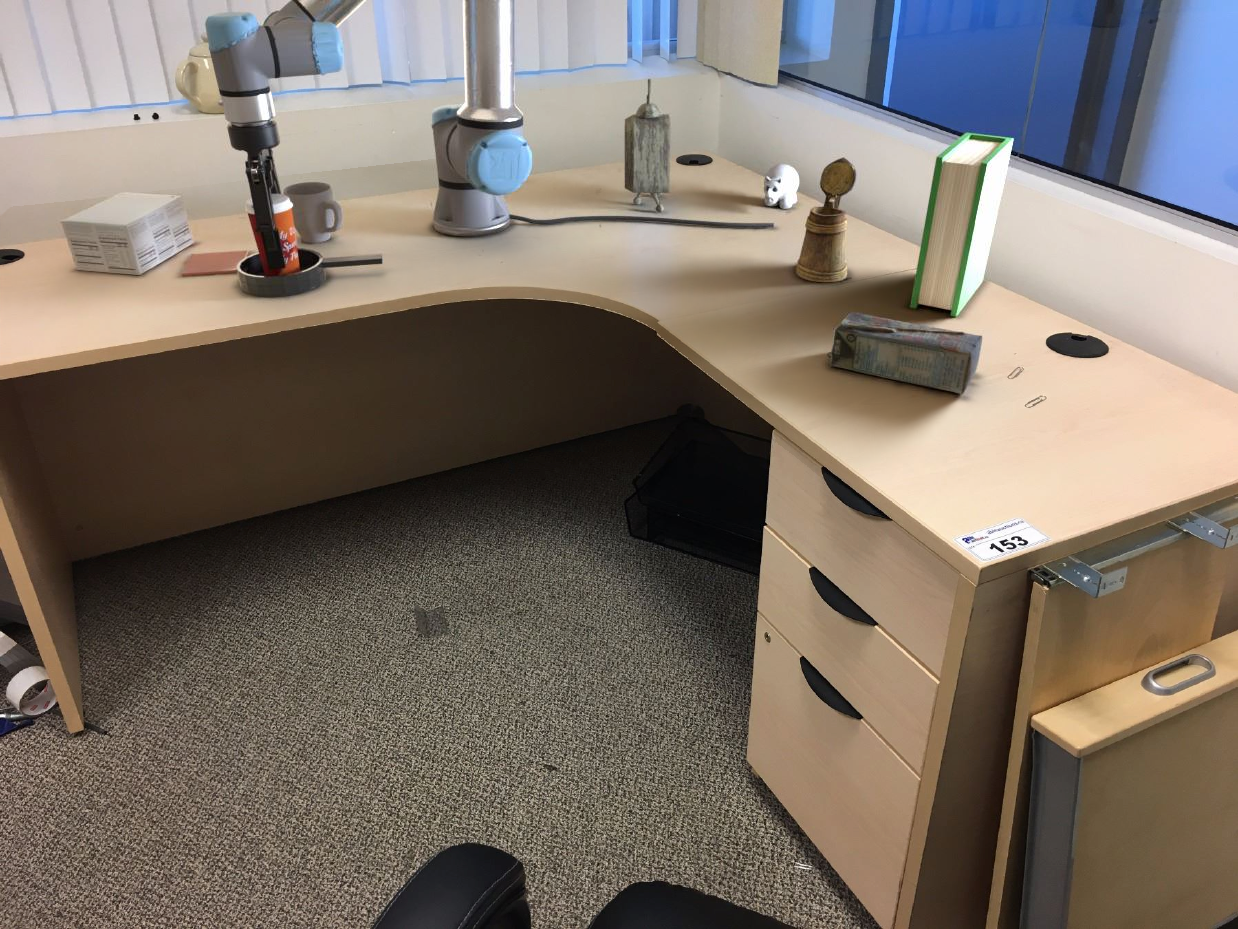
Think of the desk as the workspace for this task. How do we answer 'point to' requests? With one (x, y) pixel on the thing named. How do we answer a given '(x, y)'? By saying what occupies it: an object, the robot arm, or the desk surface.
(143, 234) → the supplement box
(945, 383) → the beverage carton
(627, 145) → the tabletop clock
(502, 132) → the robot arm
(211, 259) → the coaster
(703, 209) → the desk surface
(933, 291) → the hardback book
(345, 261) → the pan handle
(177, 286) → the desk surface
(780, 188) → the chubby cartoon animal
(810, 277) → the wooden mug
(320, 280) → the pan
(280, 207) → the paper cup
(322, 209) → the mug
